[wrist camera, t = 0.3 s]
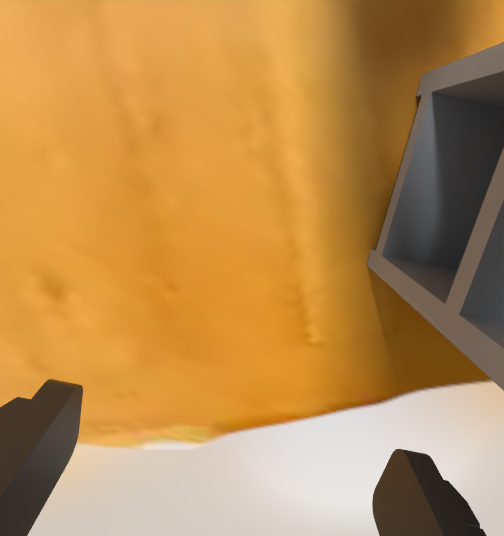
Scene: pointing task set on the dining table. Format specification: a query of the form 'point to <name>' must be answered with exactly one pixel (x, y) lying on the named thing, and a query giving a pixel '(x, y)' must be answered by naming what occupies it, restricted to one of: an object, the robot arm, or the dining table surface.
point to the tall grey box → (453, 210)
